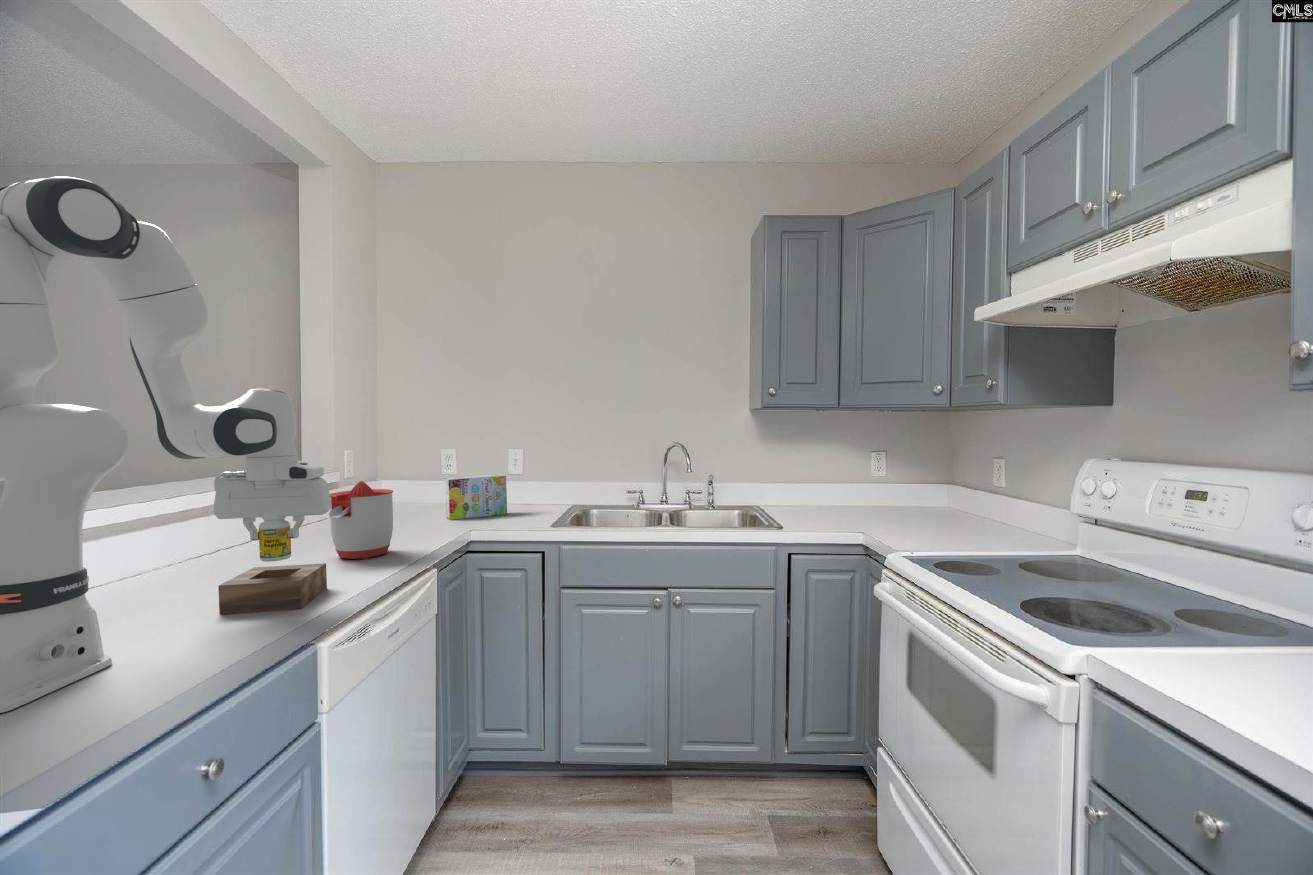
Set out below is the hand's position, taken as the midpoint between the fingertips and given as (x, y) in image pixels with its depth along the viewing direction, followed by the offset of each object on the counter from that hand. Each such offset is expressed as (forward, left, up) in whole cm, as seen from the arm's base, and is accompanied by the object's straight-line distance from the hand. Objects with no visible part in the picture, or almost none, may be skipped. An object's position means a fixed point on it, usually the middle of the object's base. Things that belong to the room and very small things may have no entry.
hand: (275, 538), depth 119 cm
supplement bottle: (0, 0, -4) cm, 4 cm away
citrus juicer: (+39, -5, -13) cm, 41 cm away
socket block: (0, 0, -13) cm, 13 cm away
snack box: (+98, -29, -13) cm, 103 cm away
